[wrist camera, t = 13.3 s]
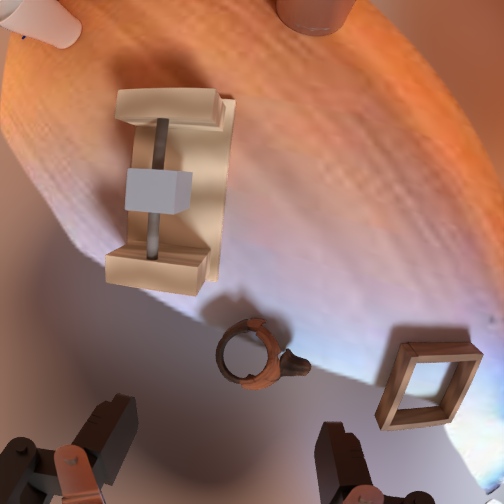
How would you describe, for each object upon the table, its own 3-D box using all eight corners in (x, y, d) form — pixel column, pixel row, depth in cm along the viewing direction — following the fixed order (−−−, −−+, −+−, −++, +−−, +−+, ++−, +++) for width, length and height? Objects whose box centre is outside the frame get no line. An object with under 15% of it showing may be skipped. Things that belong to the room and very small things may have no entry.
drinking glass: (95, 23, 32) (40, -20, 18) (68, 59, 33) (4, 29, 19) (70, 12, 31) (16, -26, 17) (45, 47, 33) (-15, 19, 18)
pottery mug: (229, 379, 44) (206, 387, 36) (235, 317, 46) (213, 313, 38) (311, 389, 40) (303, 402, 33) (317, 323, 42) (311, 321, 35)
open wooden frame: (401, 342, 41) (411, 355, 37) (472, 341, 41) (484, 353, 37) (374, 415, 44) (380, 431, 40) (442, 410, 44) (450, 423, 40)
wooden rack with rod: (142, 99, 35) (111, 81, 26) (236, 101, 35) (227, 79, 26) (129, 267, 40) (98, 289, 31) (218, 279, 40) (205, 306, 31)
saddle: (150, 169, 33) (127, 168, 27) (192, 172, 33) (177, 170, 27) (147, 204, 34) (124, 210, 28) (189, 208, 34) (173, 214, 28)
